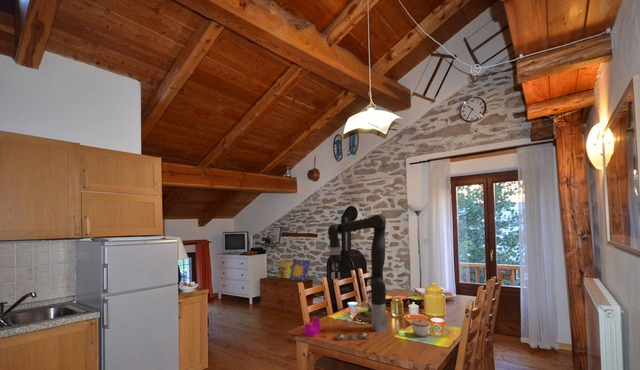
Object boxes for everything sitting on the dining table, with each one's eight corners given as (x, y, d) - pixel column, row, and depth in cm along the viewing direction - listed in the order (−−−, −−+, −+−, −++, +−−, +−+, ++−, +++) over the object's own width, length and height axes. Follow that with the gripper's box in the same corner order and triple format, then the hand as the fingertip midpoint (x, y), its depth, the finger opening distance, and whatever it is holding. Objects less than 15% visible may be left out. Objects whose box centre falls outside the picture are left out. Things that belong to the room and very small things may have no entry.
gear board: (366, 335, 220) (366, 330, 220) (368, 339, 214) (368, 334, 214) (333, 337, 218) (333, 332, 219) (334, 341, 212) (334, 336, 212)
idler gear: (338, 277, 245) (338, 271, 245) (340, 279, 240) (340, 272, 240) (330, 278, 244) (330, 271, 244) (332, 279, 239) (332, 273, 239)
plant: (352, 315, 261) (351, 300, 261) (376, 313, 265) (376, 298, 266) (361, 324, 241) (360, 308, 242) (387, 321, 246) (387, 305, 246)
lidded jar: (413, 330, 227) (413, 315, 227) (431, 332, 222) (430, 317, 222) (410, 336, 217) (409, 320, 217) (428, 338, 212) (427, 323, 213)
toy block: (313, 337, 220) (313, 325, 220) (304, 336, 223) (304, 324, 223) (323, 329, 234) (323, 318, 234) (314, 328, 236) (314, 317, 237)
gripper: (342, 254, 238) (342, 279, 237) (338, 251, 252) (339, 274, 251) (330, 255, 237) (331, 279, 236) (328, 252, 251) (329, 275, 250)
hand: (335, 277), depth 243 cm, fingers open, 8 cm apart
